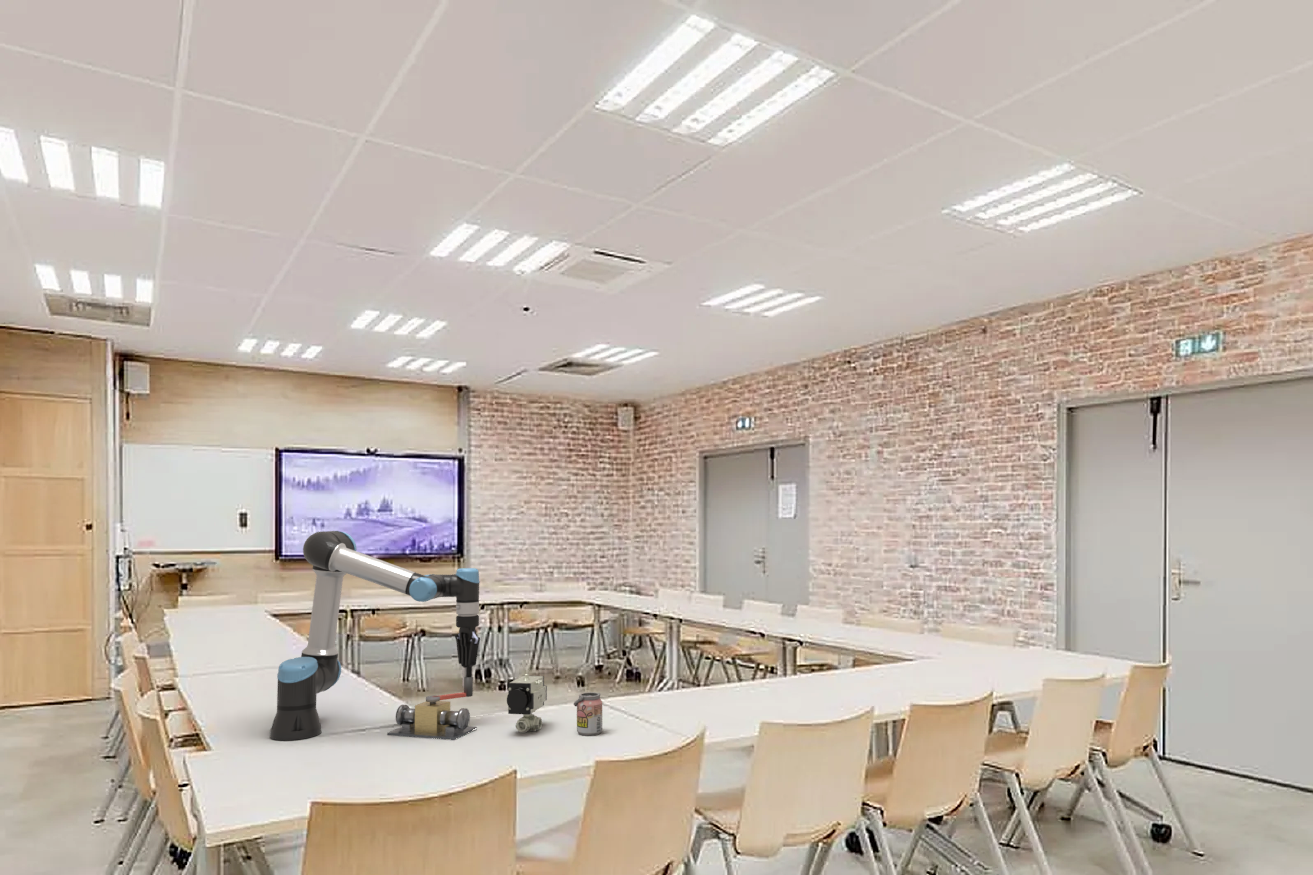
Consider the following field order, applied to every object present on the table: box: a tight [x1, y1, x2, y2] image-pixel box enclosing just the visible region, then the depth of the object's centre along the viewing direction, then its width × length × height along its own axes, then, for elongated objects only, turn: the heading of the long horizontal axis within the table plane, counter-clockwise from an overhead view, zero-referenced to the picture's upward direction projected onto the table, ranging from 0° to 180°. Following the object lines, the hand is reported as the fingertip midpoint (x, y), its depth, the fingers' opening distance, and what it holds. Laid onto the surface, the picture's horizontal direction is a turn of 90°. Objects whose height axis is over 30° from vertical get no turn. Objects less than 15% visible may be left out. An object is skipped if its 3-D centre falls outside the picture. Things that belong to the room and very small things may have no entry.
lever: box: [425, 676, 474, 702], centre depth 278 cm, size 16×4×6 cm, turn 124°
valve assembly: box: [386, 700, 478, 741], centre depth 274 cm, size 24×14×10 cm, turn 73°
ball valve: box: [506, 673, 548, 734], centre depth 275 cm, size 18×8×18 cm, turn 168°
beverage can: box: [573, 691, 603, 737], centre depth 271 cm, size 9×8×12 cm
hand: (467, 686), depth 283 cm, fingers closed
